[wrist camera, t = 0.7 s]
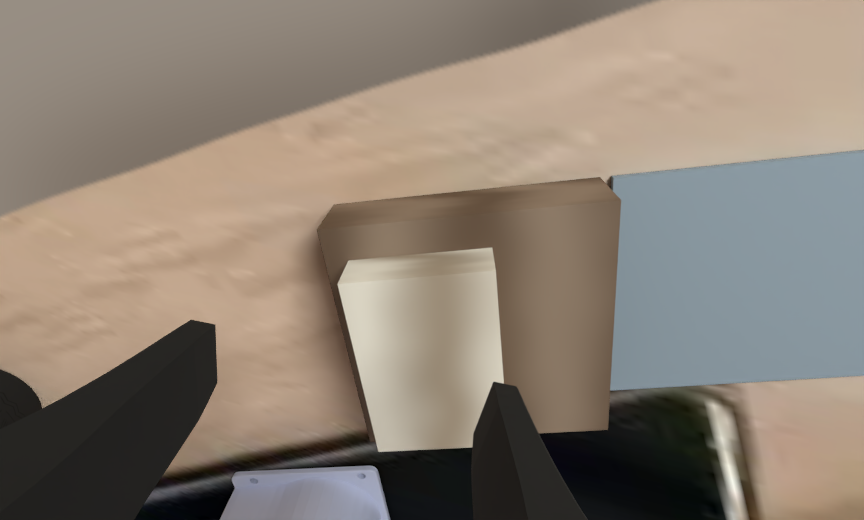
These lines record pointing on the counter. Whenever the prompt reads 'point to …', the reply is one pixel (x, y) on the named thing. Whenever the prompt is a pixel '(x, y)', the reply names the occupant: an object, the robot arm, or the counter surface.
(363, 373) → the tile
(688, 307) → the mat
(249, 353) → the counter surface
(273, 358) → the counter surface
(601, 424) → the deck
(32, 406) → the drinking cup
